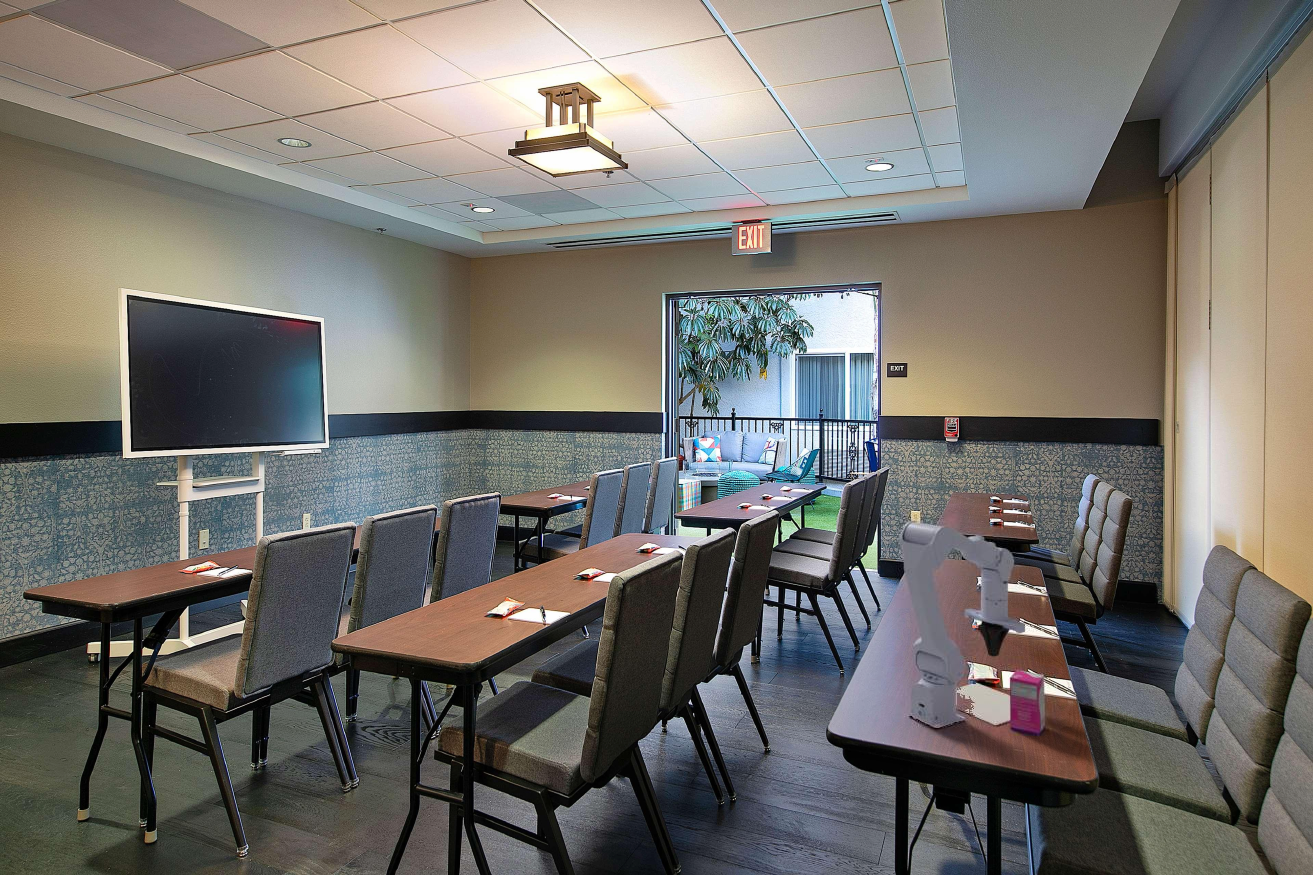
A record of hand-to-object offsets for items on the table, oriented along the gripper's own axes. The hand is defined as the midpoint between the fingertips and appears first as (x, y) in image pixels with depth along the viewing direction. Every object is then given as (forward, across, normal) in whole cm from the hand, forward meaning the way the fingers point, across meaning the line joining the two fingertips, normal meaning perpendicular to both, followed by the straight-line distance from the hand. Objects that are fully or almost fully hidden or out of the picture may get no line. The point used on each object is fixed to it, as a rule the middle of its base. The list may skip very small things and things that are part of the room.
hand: (993, 655), depth 175 cm
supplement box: (+11, -14, +8) cm, 19 cm away
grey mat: (+10, -1, +4) cm, 11 cm away
